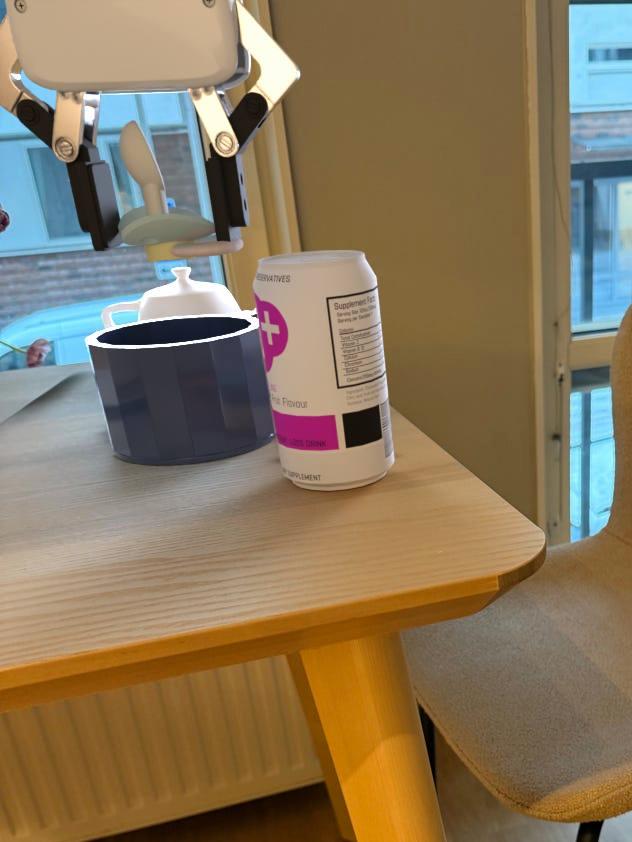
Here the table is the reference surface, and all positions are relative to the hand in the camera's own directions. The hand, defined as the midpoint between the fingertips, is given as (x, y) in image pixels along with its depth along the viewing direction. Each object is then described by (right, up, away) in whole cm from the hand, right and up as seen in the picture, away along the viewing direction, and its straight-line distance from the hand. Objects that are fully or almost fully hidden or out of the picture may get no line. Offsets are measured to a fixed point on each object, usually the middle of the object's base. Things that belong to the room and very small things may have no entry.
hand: (169, 242), depth 48 cm
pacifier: (+1, -1, 0) cm, 1 cm away
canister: (-8, -4, +31) cm, 32 cm away
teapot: (-16, +12, +60) cm, 64 cm away
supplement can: (+6, -9, +21) cm, 23 cm away
